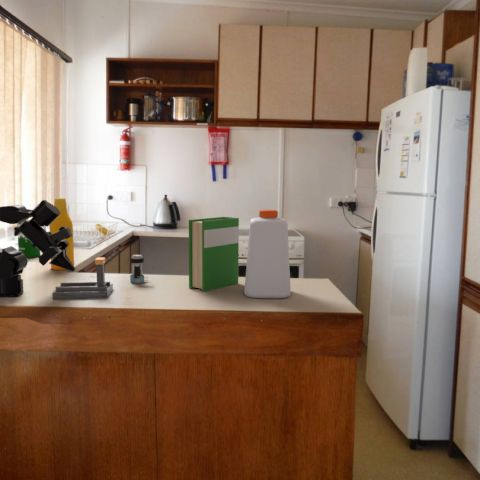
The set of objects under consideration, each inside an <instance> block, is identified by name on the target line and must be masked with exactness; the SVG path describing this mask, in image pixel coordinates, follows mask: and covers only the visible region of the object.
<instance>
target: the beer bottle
mask: <svg viewBox="0 0 480 480" xmlns="http://www.w3.org/2000/svg"><path fill="white" fill-rule="evenodd" d="M53 206H56V207H57V209H58V210H59V211H60V215H59V216H58V217H57V218H56V219H55V220H54V221H53V222H52V223H51V224H50V225H49V226H48V227H49V228H48V229H49V232H51V233H52V234H54V233H56V232H59V228H60V227H63V226H65V227H66V228H68V227H69V229H71V233H72V235H73V236H71V237H70V238H67V239H64V240H66V241H67V242H69V243H70V244H69V245H68V246H67V247H66V248H67V256H68V258H69V259H70V261H71V262H72V264H73V266H74V267H75V253H74V252H75V251H74V226H73V221H72V218H71V217H70V215H69V213H68V207H67V201H66V198H64V197H63V198H62V197H61V198H60V197H59V198H58V197H57V198H54V204H53ZM51 261H52V259H50V262H51ZM50 267H51V269H52V270H55V271H67V269H65V268H62V267H59V266H56V265H53V264H50Z"/></svg>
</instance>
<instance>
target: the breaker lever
mask: <svg viewBox="0 0 480 480" xmlns="http://www.w3.org/2000/svg"><path fill="white" fill-rule="evenodd" d="M105 263H106V257H105V256H102V257H98V256H97V257H96V258H95V259H94V265H96V282H97V284H96V285H95V286H107V282H108V281H106V278H105V274H106V273H105Z"/></svg>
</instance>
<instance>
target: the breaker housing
mask: <svg viewBox="0 0 480 480" xmlns="http://www.w3.org/2000/svg"><path fill="white" fill-rule="evenodd" d="M106 282H107V286H95V285H96V284H97V281H73V282H72V281H71V282H70V281H69V282H68V281H65V282H60V285H59V286H56V287H55V290H53V292H52V294H51V295H52V296H51V297H52V300H62V299H63V300H65V299H66V300H69V299H70V300H71V299H81V300H82V299H108V298H109V297H110V295H111V294H112V292H113V289H114V285H113V283H111V281H106ZM111 291H112V292H111ZM108 296H109V297H108Z"/></svg>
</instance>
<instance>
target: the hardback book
mask: <svg viewBox="0 0 480 480" xmlns="http://www.w3.org/2000/svg"><path fill="white" fill-rule="evenodd" d="M239 219H240V218H239V217H232V216H231V217H229V216H220V217H219V216H216V217H207V218H195V219H194V218H193V219H188V289H189V290H190V289H191V290H193V289H197V288H198V289H201V291H202V292H203V293H205V292H209V291H213V290H217V289H221V288H225V287H230V286H235V285H238V284H239V246H240V245H239V237H240V235H239V233H240V229H239V228H240V227H239V225H240V220H239Z"/></svg>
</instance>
